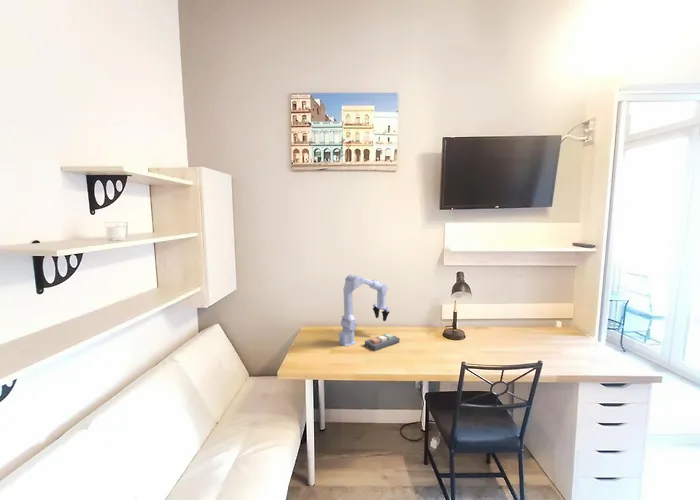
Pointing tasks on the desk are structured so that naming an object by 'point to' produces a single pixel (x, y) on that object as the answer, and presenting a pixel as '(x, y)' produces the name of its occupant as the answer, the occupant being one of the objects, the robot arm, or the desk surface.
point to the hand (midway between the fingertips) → (380, 319)
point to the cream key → (382, 338)
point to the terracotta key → (375, 340)
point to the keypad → (382, 343)
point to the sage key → (389, 336)
